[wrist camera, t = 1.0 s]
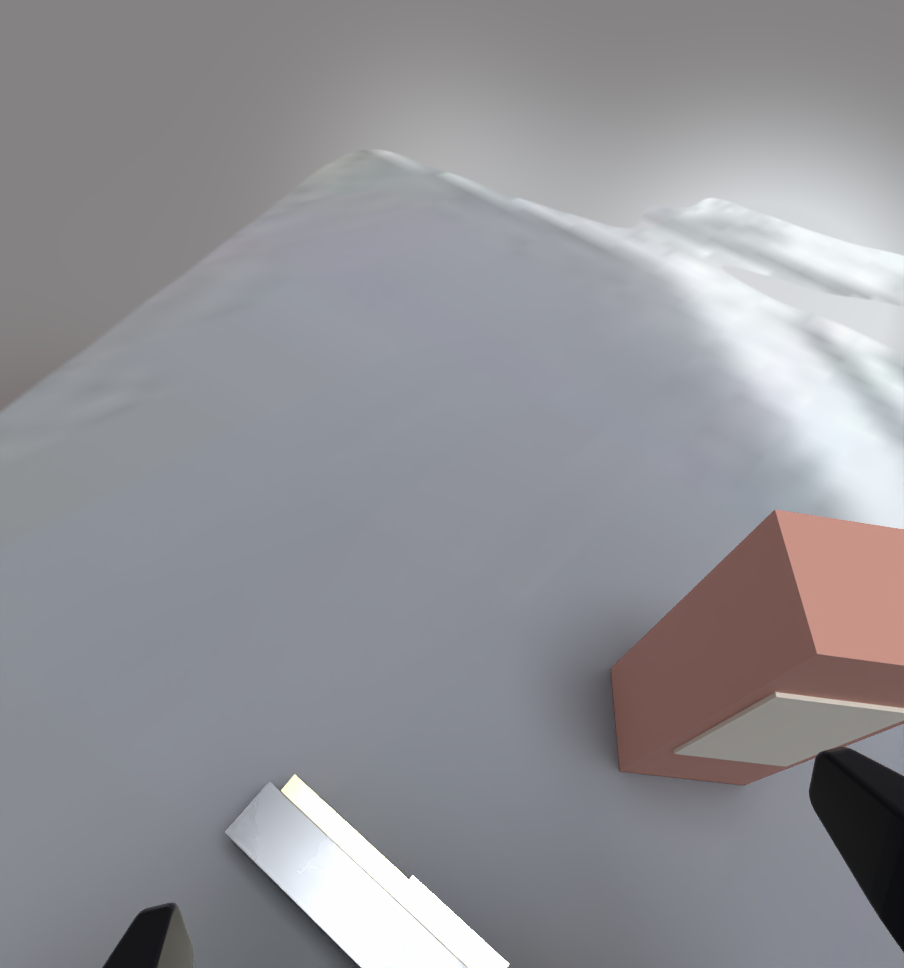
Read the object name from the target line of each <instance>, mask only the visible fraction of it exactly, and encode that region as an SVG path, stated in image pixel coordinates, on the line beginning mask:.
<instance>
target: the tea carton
mask: <svg viewBox="0 0 904 968" xmlns="http://www.w3.org/2000/svg"><path fill="white" fill-rule="evenodd" d="M611 678H612V689H613V701H614V712H615V723H616V735H617V746H618V758H619V769H620V772H629V773H638V774H647V775H656V776H665V777H674V778H683V779H692V780H701V781H710V782H719V783H728V784H737V785H746V784H749V783H751V782H754V781H757V780H759V779H762V778H764V777H767V776H770V775H772V774H775V773H777V772H780V771H782V770H785V769H788V768H790V767H793V766H795V765H798V764H800V763H803V762H806V761H808V760H811V759H813V758H816V756H817V754H818V753H819V752H821V751H825V750H829V749H833V748H837V747H844V746H847V745H850V744H852V743H855V742H857V741H860V740H862V739H865V738H868V737H870V736H873V735H875V734H878V733H880V732H883V731H886V730H888V729H891V728H893V727H896V726H899V725H901V724H904V530H903V529H897V528H890V527H884V526H877V525H871V524H864V523H858V522H852V521H845V520H839V519H832V518H826V517H820V516H813V515H807V514H800V513H794V512H787V511H781V510H774V511H773V512H772V513H771V514H770V515H769V516H768V517H767V518H766V519H765V520H764V521H763V522H762V523H761V524H759V525H758V526H757V527H756V528H755V529H754V530H753V531H752V532H751V533H750V534H749V535H748V536H747V537H746V538H745V539H744V540H743V541H742V542H741V543H740V544H739V545H738V546H737V547H736V548H735V549H734V550H733V551H732V552H731V553H730V554H729V555H727V556H726V557H725V558H724V559H723V560H722V561H721V562H720V563H719V564H718V565H717V566H716V567H715V568H714V569H713V570H712V571H711V572H710V573H709V574H708V575H707V576H706V577H705V578H704V579H703V580H702V581H701V582H700V583H699V584H698V585H697V586H695V587H694V588H693V589H692V590H691V591H690V592H689V593H688V594H687V595H686V596H685V597H684V598H683V599H682V600H681V601H680V602H679V603H678V604H677V605H676V606H675V607H674V608H673V609H672V610H671V611H670V612H669V613H668V614H667V615H666V616H664V617H663V618H662V619H661V620H660V621H659V622H658V623H657V624H656V625H655V626H654V627H653V628H652V629H651V630H650V631H649V632H648V633H647V634H646V635H645V636H644V637H643V638H642V639H641V640H640V641H639V642H638V643H637V644H636V645H635V646H634V647H632V648H631V649H630V650H629V651H628V652H627V653H626V654H625V655H624V656H623V657H622V658H621V659H620V660H619V661H618V662H617V663H616V664H615V665H614V666H613V667H612V668H611Z"/></svg>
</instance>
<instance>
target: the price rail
mask: <svg viewBox="0 0 904 968" xmlns="http://www.w3.org/2000/svg"><path fill="white" fill-rule="evenodd" d="M225 833H226V834H227V835H228V837H229V838H230V839H231V840H232V841H233V842H234V843H235V844H236V845H237V846H238V847H239V848H240V849H241V850H242V851H243V852H244V853H245V854H246V855H247V856H248V857H249V858H250V859H251V860H252V861H253V862H254V863H255V864H256V865H257V866H258V867H259V868H260V869H261V870H262V871H263V872H264V873H265V874H266V875H267V876H268V877H269V878H270V879H271V880H272V881H273V882H274V883H275V884H276V885H277V886H278V887H279V888H280V889H281V890H282V891H283V892H284V893H285V894H286V895H287V896H288V897H289V898H290V899H291V900H292V901H293V902H294V903H295V904H296V905H297V906H298V907H299V908H300V909H301V910H302V911H303V912H304V913H305V914H306V915H307V916H308V917H309V918H310V919H311V920H312V921H313V922H314V923H315V924H316V925H317V926H318V927H319V928H320V929H321V930H322V931H323V932H324V933H325V934H326V935H327V936H328V937H329V938H330V939H331V940H332V941H333V942H334V943H335V944H336V945H337V946H338V947H339V948H340V949H341V950H342V951H343V952H344V953H345V954H346V955H347V956H348V957H349V958H350V959H351V960H352V961H353V962H355V963H356V964H357V965H358V966H359V967H360V968H507V967H508V965H509V963H508V962H507V961H505V960H504V959H503V958H502V957H501V956H500V955H499V954H498V953H497V952H496V951H495V950H493V949H492V948H491V947H490V946H489V945H488V944H487V943H486V942H485V941H484V940H483V939H482V938H480V937H479V936H478V935H477V934H476V933H475V932H474V931H473V930H472V929H471V928H470V927H468V926H467V925H466V924H465V923H464V922H463V921H462V920H461V919H460V918H459V917H458V916H456V915H455V914H454V913H453V912H452V911H451V910H450V909H449V908H448V907H447V906H446V905H445V904H443V903H442V902H441V901H440V900H439V899H438V898H437V897H436V896H435V895H434V894H433V893H431V892H430V891H429V890H428V889H427V888H426V887H425V886H424V885H423V884H422V883H421V882H420V881H418V880H417V879H416V878H415V877H414V876H413V875H412V876H411V877H410V878H409V879H407V878H406V877H405V876H404V875H403V874H402V873H401V872H400V871H399V870H398V869H397V868H396V867H394V866H393V865H392V864H391V863H390V862H389V861H388V860H387V859H386V858H385V857H384V856H383V855H381V854H380V853H379V852H378V851H377V850H376V849H375V848H374V847H373V846H372V845H371V844H370V843H368V842H367V841H366V840H365V839H364V838H363V837H362V836H361V835H360V834H359V833H358V832H357V831H355V830H354V829H353V828H352V827H351V826H350V825H349V824H348V823H347V822H346V821H345V820H344V819H342V818H341V817H340V816H339V815H338V814H337V813H336V812H335V811H334V810H333V809H332V808H331V807H329V806H328V805H327V804H326V803H325V802H324V801H323V800H322V799H321V798H320V797H319V796H318V795H316V794H315V793H314V792H313V791H312V790H311V789H310V788H309V787H308V786H307V785H306V784H305V783H303V782H302V781H301V780H300V779H299V778H298V777H297V776H296V775H294V776H293V777H292V778H291V779H290V780H289V782H288V783H287V784H286V785H285V786H284V787H283V789H282V790H281V791H280V790H278V789H277V788H276V787H275V786H274V785H273V784H272V783H271V782H270V781H269V782H268V784H267V785H266V786H265V787H264V788H263V789H262V790H261V791H260V793H259V794H258V795H257V796H256V797H255V798H254V799H253V800H252V802H251V803H250V804H249V805H248V806H247V807H246V808H245V810H244V811H243V812H242V813H241V814H240V815H239V816H238V817H237V819H236V820H235V821H234V822H233V823H232V824H231V825H230V826H229V828H228V829H227V830H226V831H225Z"/></svg>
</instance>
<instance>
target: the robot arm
mask: <svg viewBox="0 0 904 968" xmlns="http://www.w3.org/2000/svg"><path fill="white" fill-rule="evenodd" d="M809 797H810V801H811V804H812V806H813V808H814V810H815V812H816V814H817V815H818V817H819V819H820V820H821V822H822V824H823V825H824V827H825V829H826V830H827V832H828V834H829V835H830V837H831V839H832V840H833V842H834V844H835V845H836V847H837V849H838V850H839V852H840V854H841V855H842V857H843V859H844V860H845V862H846V864H847V865H848V867H849V869H850V870H851V872H852V874H853V876H854V877H855V879H856V881H857V882H858V884H859V886H860V887H861V889H862V891H863V892H864V894H865V896H866V897H867V899H868V900H869V902H870V904H871V905H872V907H873V908H874V910H875V911H876V913H877V915H878V916H879V918H880V919H881V921H882V922H883V924H884V925H885V926H886V928H887V929H888V931H889V932H890V934H891V935H892V937H893V938H894V939H895V941H896V942H897V944H898V945H899V946H900V948H901V949H902V951H903V952H904V776H903V775H901V774H899V773H897V772H895V771H893V770H891V769H889V768H887V767H885V766H883V765H881V764H879V763H878V762H876V761H874V760H872V759H870V758H868V757H866V756H864V755H862V754H860V753H858V752H856V751H854V750H852V749H850V748H847V747H837V748H833V749H829V750H825V751H821V752H819V753H818V754H817V756H816V758H815V763H814V768H813V773H812V778H811V783H810V788H809ZM103 968H193V946H192V942H191V939H190V936H189V933H188V931H187V928H186V925H185V923H184V920H183V917H182V914H181V912H180V909H179V907H178V906H177V905H176V904H175V903H167V904H163V905H158V906H154V907H150V908H146V909H144V910H143V911H141V912H140V913H139V914H138V915H137V916H136V918H135V919H134V920H133V922H132V923H131V925H130V927H129V928H128V930H127V931H126V933H125V934H124V936H123V937H122V939H121V940H120V942H119V943H118V945H117V946H116V948H115V949H114V951H113V952H112V954H111V955H110V957H109V958H108V960H107V961H106V963H105V965H104V966H103Z"/></svg>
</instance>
